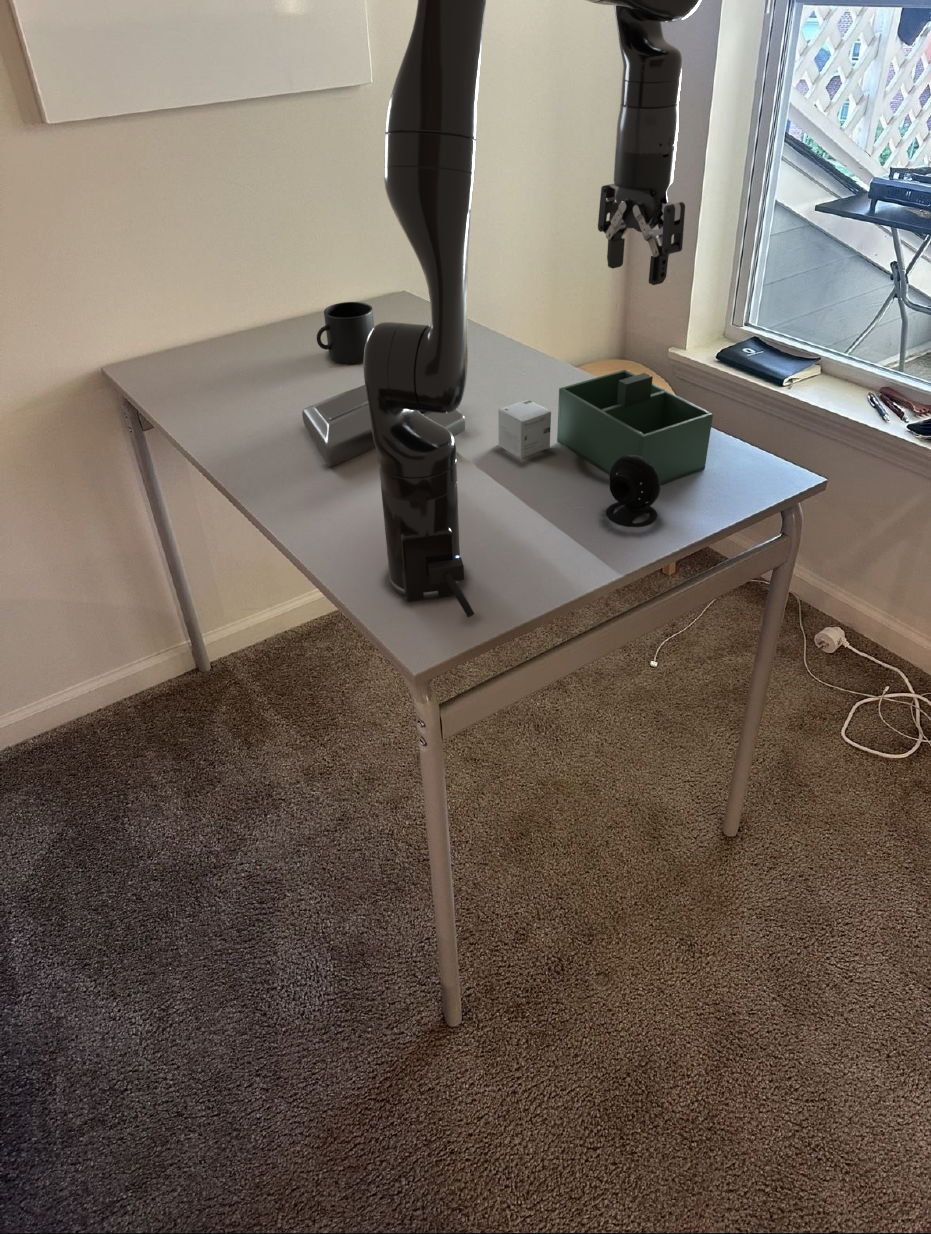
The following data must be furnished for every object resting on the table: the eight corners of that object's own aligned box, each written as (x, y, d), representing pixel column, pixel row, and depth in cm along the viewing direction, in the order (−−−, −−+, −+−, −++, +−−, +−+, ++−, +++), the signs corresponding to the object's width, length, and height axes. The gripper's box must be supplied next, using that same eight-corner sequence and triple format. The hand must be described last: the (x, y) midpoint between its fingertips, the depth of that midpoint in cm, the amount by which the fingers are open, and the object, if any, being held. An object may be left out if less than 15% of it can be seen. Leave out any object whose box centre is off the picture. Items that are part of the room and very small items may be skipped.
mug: (309, 356, 178) (303, 311, 173) (363, 342, 183) (358, 298, 178) (330, 371, 172) (324, 324, 166) (385, 357, 177) (381, 311, 171)
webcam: (592, 521, 127) (596, 457, 120) (624, 501, 131) (630, 438, 125) (636, 541, 122) (643, 476, 116) (669, 520, 126) (677, 456, 120)
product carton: (521, 465, 140) (521, 421, 136) (497, 451, 144) (497, 408, 140) (550, 453, 143) (552, 410, 138) (526, 440, 147) (527, 398, 142)
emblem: (327, 364, 161) (480, 372, 156) (331, 392, 164) (480, 401, 159) (270, 434, 139) (445, 446, 134) (275, 465, 142) (446, 478, 138)
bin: (704, 469, 135) (716, 391, 127) (637, 493, 130) (646, 413, 122) (620, 421, 149) (626, 348, 141) (556, 441, 144) (559, 366, 136)
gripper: (587, 139, 116) (581, 267, 126) (661, 158, 106) (649, 295, 116) (631, 131, 119) (622, 257, 129) (708, 149, 109) (692, 283, 119)
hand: (635, 275), depth 123 cm, fingers open, 8 cm apart
